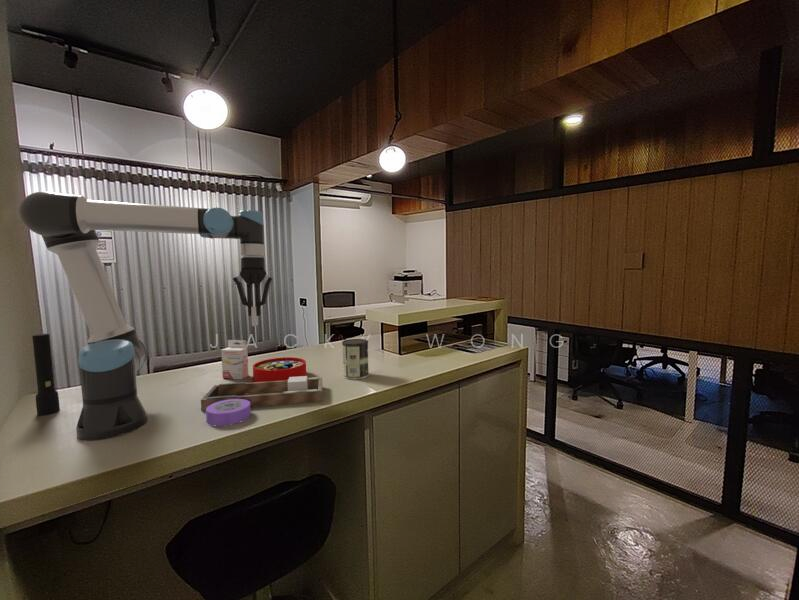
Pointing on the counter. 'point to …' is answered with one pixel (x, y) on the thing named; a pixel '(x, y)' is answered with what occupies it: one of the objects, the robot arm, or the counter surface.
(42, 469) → the counter surface
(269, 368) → the toy clock
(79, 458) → the counter surface
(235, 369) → the ink cartridge box
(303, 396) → the wooden tray
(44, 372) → the flashlight
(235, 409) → the masking tape
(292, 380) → the white cube
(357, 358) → the coffee can
